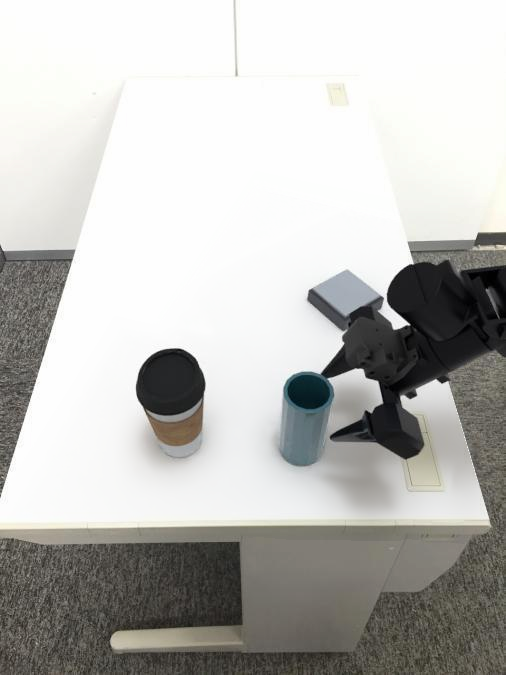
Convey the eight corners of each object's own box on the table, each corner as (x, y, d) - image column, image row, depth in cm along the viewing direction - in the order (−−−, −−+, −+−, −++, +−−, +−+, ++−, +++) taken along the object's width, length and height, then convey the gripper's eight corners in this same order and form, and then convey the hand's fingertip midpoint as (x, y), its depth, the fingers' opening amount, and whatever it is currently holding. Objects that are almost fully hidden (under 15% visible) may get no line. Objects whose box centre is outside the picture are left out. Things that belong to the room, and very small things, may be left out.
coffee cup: (219, 420, 76) (213, 354, 64) (199, 473, 70) (189, 410, 59) (164, 407, 77) (149, 339, 66) (140, 457, 72) (120, 393, 60)
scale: (381, 308, 91) (385, 295, 88) (342, 331, 87) (345, 318, 85) (345, 279, 95) (347, 266, 93) (307, 300, 92) (308, 287, 89)
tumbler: (328, 435, 74) (339, 380, 64) (315, 472, 70) (325, 419, 61) (287, 422, 76) (292, 365, 66) (272, 457, 72) (276, 402, 62)
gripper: (381, 251, 59) (278, 320, 68) (420, 387, 47) (289, 452, 55) (432, 300, 66) (332, 358, 74) (479, 432, 53) (353, 484, 61)
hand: (326, 406), depth 66 cm, fingers open, 9 cm apart
